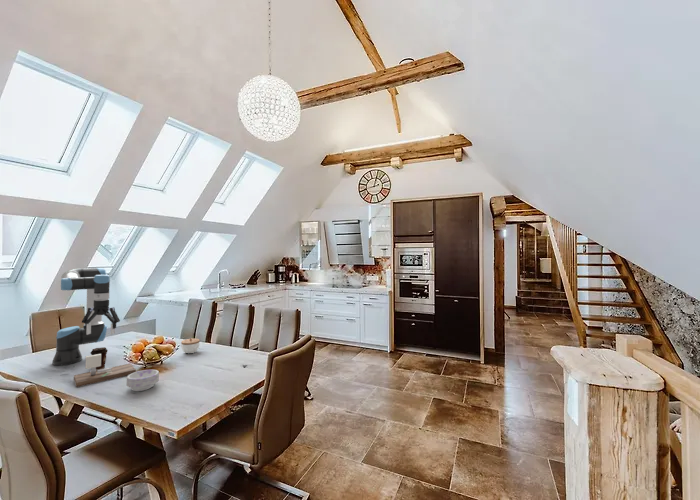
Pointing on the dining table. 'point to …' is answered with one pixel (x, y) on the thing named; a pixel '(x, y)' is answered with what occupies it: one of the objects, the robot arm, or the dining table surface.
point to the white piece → (94, 364)
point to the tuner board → (103, 375)
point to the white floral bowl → (142, 379)
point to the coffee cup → (103, 356)
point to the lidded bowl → (190, 345)
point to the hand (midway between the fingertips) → (100, 334)
